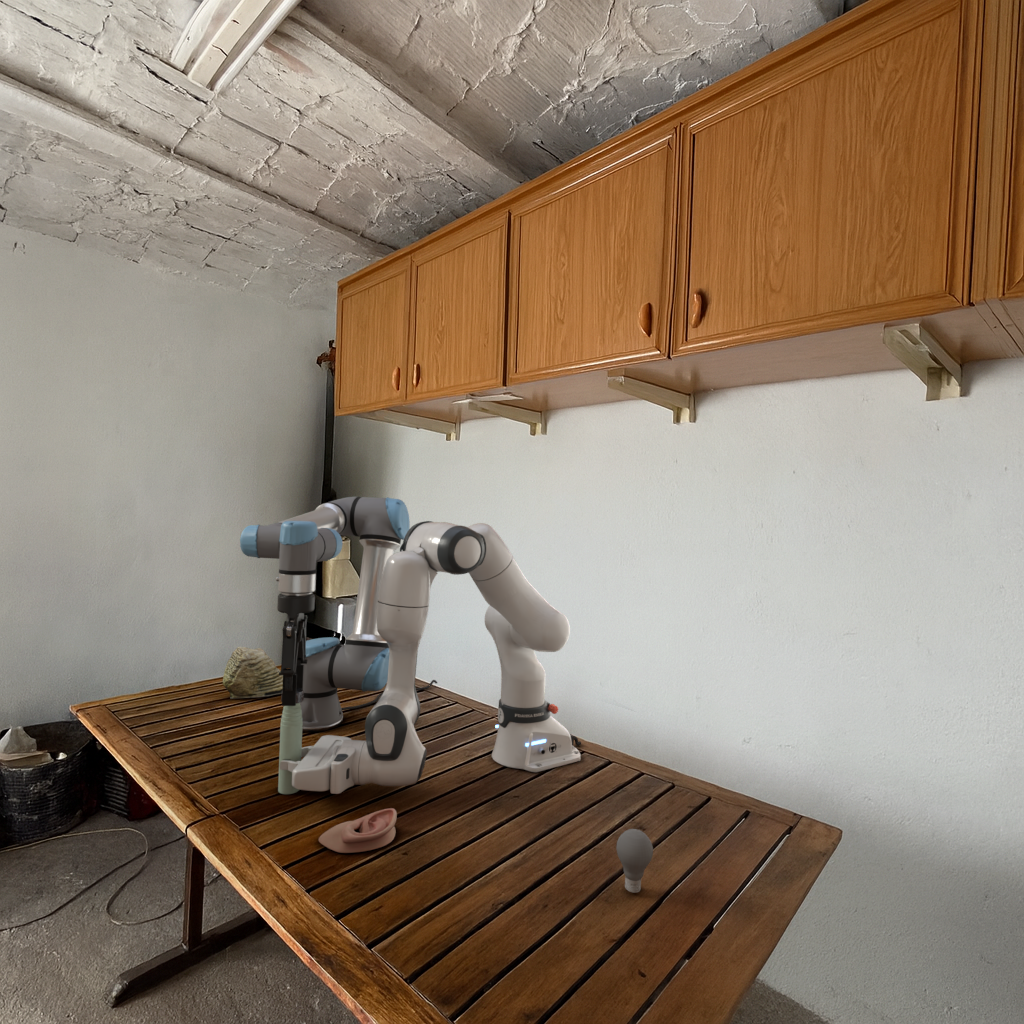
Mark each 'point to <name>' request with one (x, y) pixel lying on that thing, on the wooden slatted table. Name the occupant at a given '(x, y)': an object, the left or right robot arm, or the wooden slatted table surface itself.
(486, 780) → the wooden slatted table surface
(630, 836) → the light bulb
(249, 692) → the fossil
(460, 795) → the wooden slatted table surface
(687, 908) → the wooden slatted table surface
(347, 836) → the anatomical model
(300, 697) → the cap
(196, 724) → the wooden slatted table surface
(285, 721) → the bottle
